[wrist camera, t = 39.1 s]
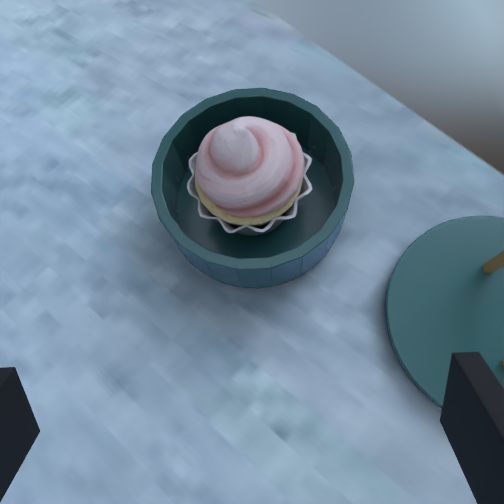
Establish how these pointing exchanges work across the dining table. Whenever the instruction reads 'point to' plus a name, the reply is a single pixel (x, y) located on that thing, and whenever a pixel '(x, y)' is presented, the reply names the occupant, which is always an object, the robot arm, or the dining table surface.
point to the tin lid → (449, 300)
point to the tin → (289, 231)
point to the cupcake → (249, 175)
